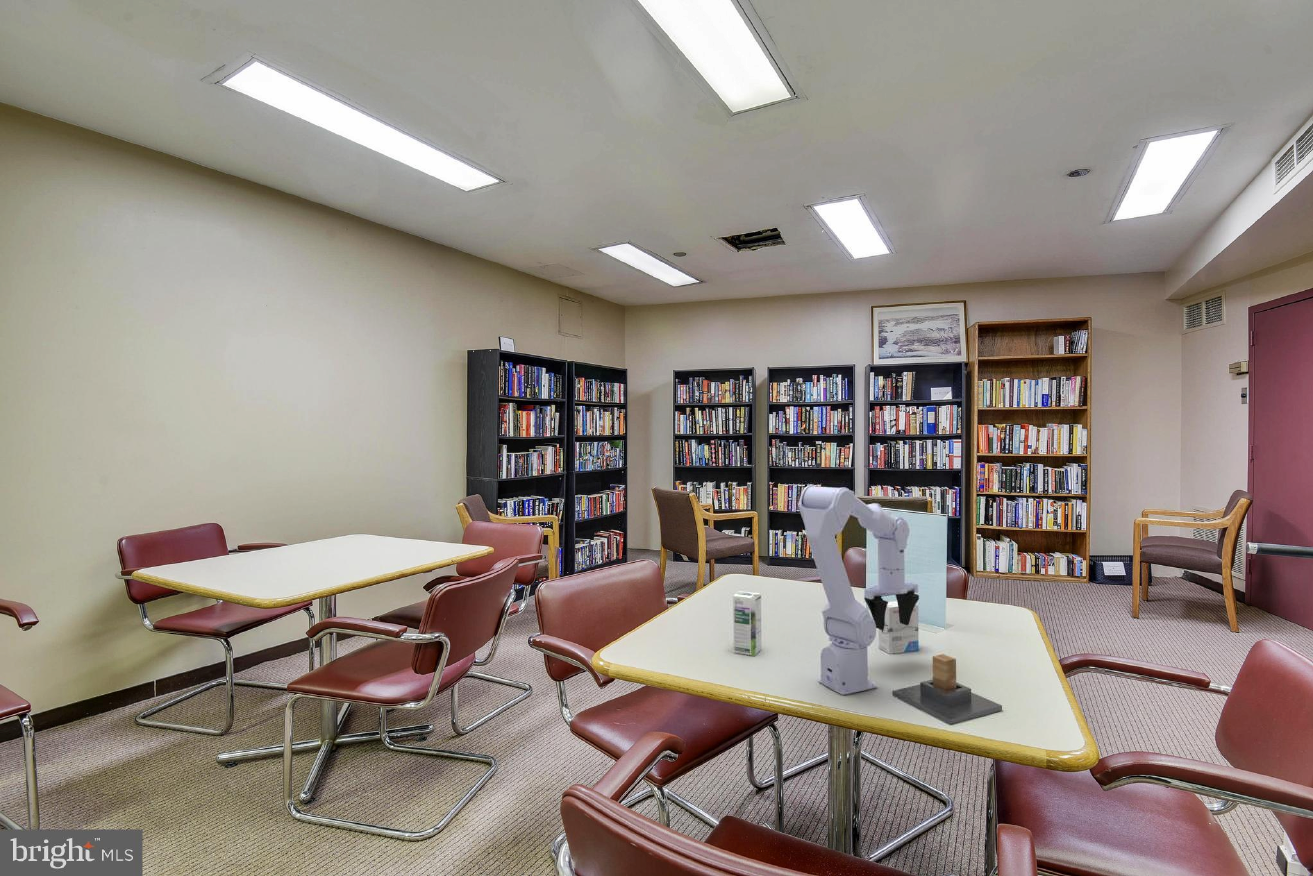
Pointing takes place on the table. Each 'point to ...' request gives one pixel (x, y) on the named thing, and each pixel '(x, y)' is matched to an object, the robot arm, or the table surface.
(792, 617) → the table surface
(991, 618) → the table surface
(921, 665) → the table surface
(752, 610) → the syrup box
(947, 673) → the oak peg
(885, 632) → the ink box
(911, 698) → the socket plate
